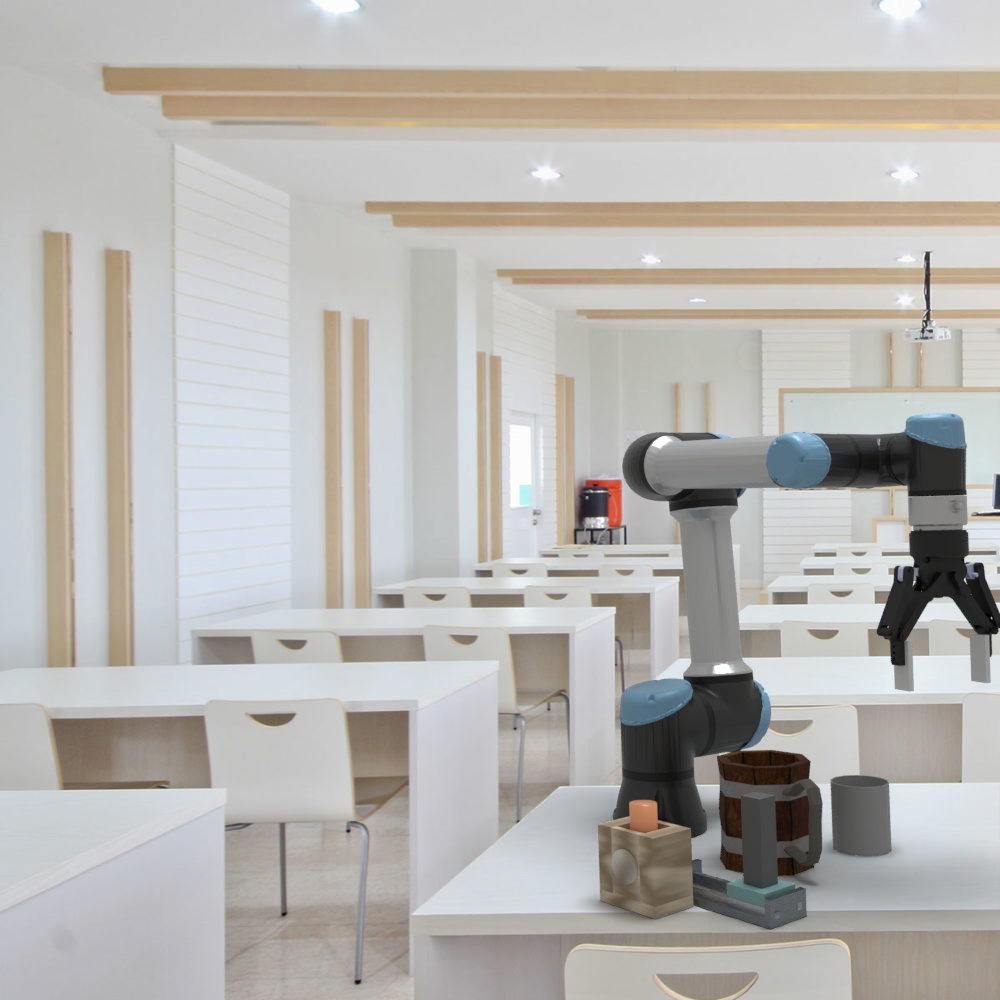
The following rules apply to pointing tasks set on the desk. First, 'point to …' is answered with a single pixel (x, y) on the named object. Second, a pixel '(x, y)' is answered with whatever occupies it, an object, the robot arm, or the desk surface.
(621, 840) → the wooden box
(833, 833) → the cup
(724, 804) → the mug
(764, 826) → the carriage
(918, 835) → the desk surface
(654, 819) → the orange cylinder
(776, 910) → the rail track
